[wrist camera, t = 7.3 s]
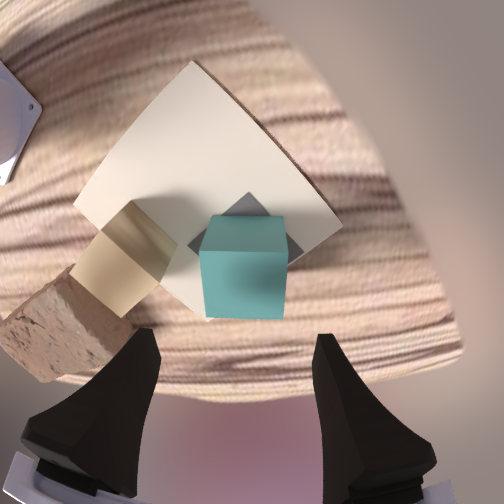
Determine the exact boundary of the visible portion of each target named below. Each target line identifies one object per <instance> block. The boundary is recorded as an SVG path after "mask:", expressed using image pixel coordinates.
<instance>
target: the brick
mask: <svg viewBox="0 0 504 504" xmlns="http://www.w3.org/2000/svg"><path fill="white" fill-rule="evenodd" d="M74 266H75V264H73V265H71V266H70V267H69V268H66V269H65V270H64V271H63V272H62V273H61V274H59V275H58V276H57V278H56V279H55V280H54V281H52V282H50V283H48V284H46V285H45V286H44V287H43V288H42V289H41V290H40V291H38V292H37V293H36V294H34V295H33V296H32V297H30V298H29V299H28V300H27V301H25V302H24V303H23V304H22V305H21V306H20V307H19V308H17V309H16V310H15V311H14V312H12V313H11V314H10V315H9V316H8V317H7V318H6V319H5V320H4V321H3V322H2V324H1V325H0V345H1V346H2V347H3V349H4V350H5V351H6V352H7V353H8V354H9V355H10V356H11V357H12V358H14V359H15V360H16V361H17V362H18V363H19V364H20V365H21V366H23V367H24V368H25V369H26V370H28V372H29V373H31V374H33V375H34V376H35V377H36V378H37V379H38V380H39V381H40V382H41V383H43V382H46V383H48V382H50V381H52V380H54V379H56V378H58V377H61V376H63V375H64V374H71V373H77V372H80V371H85V370H89V369H94V368H97V367H99V366H100V365H101V366H104V365H106V364H108V362H109V361H110V360H111V359H112V358H113V357H114V356H115V355H116V354H117V353H118V352H119V351H120V349H121V348H122V347H123V346H124V345H125V344H126V342H127V340H128V338H129V337H130V335H131V334H132V331H133V326H132V324H131V322H130V321H129V319H127V318H126V315H124V316H123V317H122V318H120V317H119V316H118V315H117V314H115V313H114V312H113V311H112V310H111V309H109V308H108V307H107V306H106V305H104V304H103V303H102V302H101V301H100V300H99V299H97V298H96V297H95V296H94V295H93V294H92V293H90V292H89V291H88V290H87V289H86V288H85V287H84V286H82V285H81V284H80V283H79V282H78V281H77V280H76V279H75V278H74V277H72V276H71V275H70V274H69V273H70V271H71V270H72V269H73V267H74Z"/></svg>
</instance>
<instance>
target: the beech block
mask: <svg viewBox="0 0 504 504" xmlns="http://www.w3.org/2000/svg"><path fill="white" fill-rule="evenodd" d="M177 246H178V244H177V243H176V242H175V241H174V240H173V239H172V238H171V237H170V236H169V235H167V234H166V233H165V232H164V231H163V230H162V229H161V228H160V227H159V226H158V225H157V224H156V223H155V222H154V221H152V220H151V219H150V218H149V217H148V216H147V215H146V214H145V213H144V212H143V211H142V210H141V209H140V208H139V207H138V206H137V205H136V204H135V203H134V202H132V201H131V200H130V201H129V202H128V203H127V204H126V205H125V206H124V207H123V208H122V209H121V210H120V211H119V212H118V213H117V214H116V215H115V216H114V217H113V218H112V219H111V220H110V221H109V222H108V223H107V224H106V225H105V226H104V227H103V228H102V229H101V230H100V231H99V233H98V234H97V235H96V236H95V238H94V239H93V240H92V242H91V243H90V245H89V246H88V247H87V249H86V250H85V251H84V253H83V254H82V256H81V257H80V258H79V260H78V261H77V263H76V264H75V266H74V267H73V269H72V270H71V271H70V273H69V274H70V275H71V276H72V277H74V278H75V279H76V280H77V281H78V282H79V283H80V284H81V285H82V286H84V287H85V288H86V289H87V290H88V291H89V292H90V293H92V294H93V295H94V296H95V297H96V298H97V299H99V300H100V301H101V302H102V303H103V304H104V305H106V306H107V307H108V308H109V309H111V310H112V311H113V312H114V313H115V314H117V315H118V316H119V317H120V318H122V317H123V316H124V315H125V314H126V313H127V312H128V311H129V310H130V309H132V308H133V307H134V306H135V305H136V304H137V303H138V302H139V301H140V300H142V299H143V298H144V297H145V296H146V295H147V294H148V293H149V292H150V291H152V290H153V289H154V288H155V287H156V286H157V285H158V284H159V283H160V282H161V280H162V277H163V275H164V273H165V271H166V269H167V267H168V265H169V263H170V261H171V259H172V257H173V255H174V253H175V250H176V248H177Z"/></svg>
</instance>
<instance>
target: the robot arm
mask: <svg viewBox="0 0 504 504" xmlns="http://www.w3.org/2000/svg"><path fill="white" fill-rule="evenodd" d="M32 104H33V109H32ZM41 112H42V107H41V105H40V104H39V103H38V102H37V101H36V99H35V98H34V97H33V96H32V95H31V94H30V93H29V92H28V91H27V90H26V89H25V87H24V86H23V85H22V84H21V83H20V82H19V81H18V80H17V79H16V77H15V76H14V75H13V74H12V73H11V72H10V71H9V70H8V68H7V67H6V66H5V65H4V64H3V63H2V62H1V60H0V175H1V176H0V184H1V185H2V186H4V185H6V184H7V183H8V181H9V179H10V176H11V174H12V171H13V169H14V167H15V164H16V162H17V160H18V158H19V156H20V153H21V151H22V149H23V147H24V145H25V143H26V141H27V139H28V137H29V135H30V133H31V131H32V129H33V127H34V125H35V123H36V122H37V120H38V118H39V116H40V114H41ZM160 364H161V356H160V353H159V349H158V346H157V343H156V340H155V337H154V333H153V330H152V329H148V328H139V329H138V330H137V331H136V332H135V333H134V335H133V336H132V337H131V338H130V339H129V340H128V341H127V343H126V344H125V345H124V346H123V347H122V348H121V349H120V351H119V352H118V353H117V354H116V355H115V356H114V357H113V358H112V359H111V360H110V361H109V362H108V364H107V365H106V366H104V367H103V368H102V369H101V370H100V371H99V372H98V373H97V374H96V375H95V376H94V377H93V378H92V379H91V380H90V381H89V382H87V383H86V384H85V385H84V386H83V387H81V388H80V389H79V390H78V391H76V392H75V393H73V394H72V395H71V396H69V397H68V398H66V399H65V400H63V401H62V402H60V403H58V404H57V405H55V406H53V407H51V408H50V409H48V410H46V411H44V412H42V413H39V414H37V415H35V416H33V417H31V418H29V420H28V422H27V424H26V426H25V429H24V431H23V433H22V436H21V438H20V440H21V442H22V443H23V444H24V445H25V446H26V447H27V448H28V449H29V450H30V451H32V452H33V453H34V454H35V455H37V456H38V457H39V458H40V461H39V463H38V462H36V461H35V460H33V459H31V458H29V457H27V456H25V455H23V454H22V453H20V452H16V454H15V456H14V459H13V462H12V464H11V467H10V470H9V473H8V475H7V479H6V481H5V484H4V487H3V491H4V492H6V493H7V494H9V495H10V496H12V497H14V498H15V499H17V500H18V501H20V502H21V503H23V504H150V503H146V502H141V501H137V500H133V499H131V498H133V497H135V496H137V473H138V461H139V452H140V444H141V438H142V431H143V426H144V422H145V418H146V414H147V411H148V408H149V405H150V402H151V398H152V395H153V392H154V389H155V386H156V383H157V379H158V375H159V370H160ZM312 375H313V386H314V392H315V397H316V402H317V408H318V413H319V418H320V424H321V432H322V446H323V504H456V500H455V495H454V491H453V487H452V483H451V480H446V481H443V482H441V483H438V484H435V485H432V486H429V487H427V488H424V489H422V488H421V484H423V477H422V476H423V475H424V474H425V473H427V472H428V471H429V470H431V469H432V468H433V467H434V466H435V465H436V463H437V460H436V456H435V453H434V450H433V448H432V446H431V443H429V442H427V441H426V440H425V439H423V438H422V437H420V436H419V435H417V434H415V433H414V432H413V431H411V430H410V429H409V428H408V427H406V426H405V425H404V424H403V423H401V421H399V420H398V419H397V418H396V417H395V416H394V415H393V414H392V413H390V412H389V411H388V410H387V409H386V408H385V407H384V406H383V405H382V403H381V402H380V401H378V399H377V398H376V397H375V396H374V395H373V393H372V392H371V391H370V390H369V389H368V387H367V386H366V385H365V383H364V382H363V381H362V379H361V378H360V377H359V375H358V374H357V372H356V371H355V370H354V368H353V367H352V365H351V364H350V362H349V361H348V359H347V357H346V356H345V354H344V352H343V351H342V349H341V347H340V346H339V344H338V342H337V340H336V338H335V337H334V335H333V334H332V333H331V334H318V337H317V342H316V346H315V351H314V356H313V360H312Z"/></svg>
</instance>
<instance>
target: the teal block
mask: <svg viewBox="0 0 504 504" xmlns="http://www.w3.org/2000/svg"><path fill="white" fill-rule="evenodd" d="M199 259H200V268H201V278H202V287H203V296H204V304H205V312H206V317H211V318H237V319H283V313H284V302H285V291H286V279H287V266H288V245H287V238H286V232H285V225H284V218H283V217H282V216H215V215H212V217H211V219H210V222H209V225H208V227H207V230H206V233H205V235H204V238H203V241H202V243H201V246H200V249H199Z"/></svg>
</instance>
